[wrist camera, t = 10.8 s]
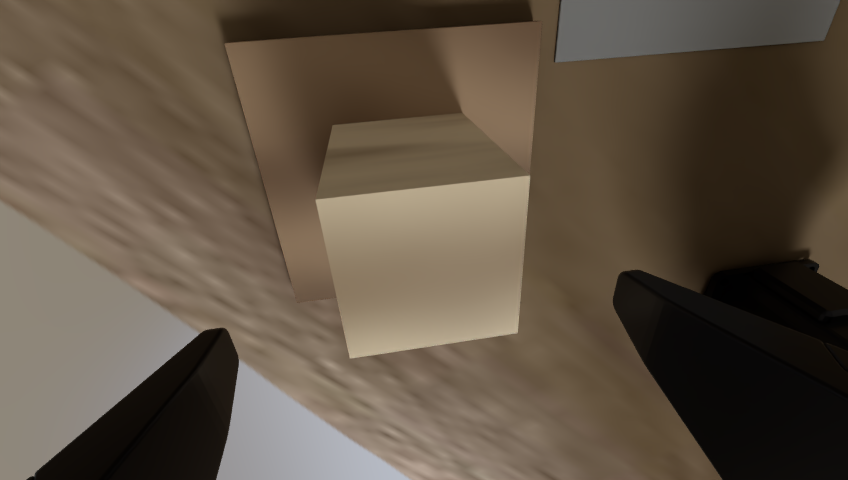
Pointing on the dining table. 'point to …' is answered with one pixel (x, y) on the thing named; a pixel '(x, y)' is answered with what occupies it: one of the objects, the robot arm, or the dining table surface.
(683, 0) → the slate gray tile
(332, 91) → the walnut board
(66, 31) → the dining table surface
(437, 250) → the maple block
